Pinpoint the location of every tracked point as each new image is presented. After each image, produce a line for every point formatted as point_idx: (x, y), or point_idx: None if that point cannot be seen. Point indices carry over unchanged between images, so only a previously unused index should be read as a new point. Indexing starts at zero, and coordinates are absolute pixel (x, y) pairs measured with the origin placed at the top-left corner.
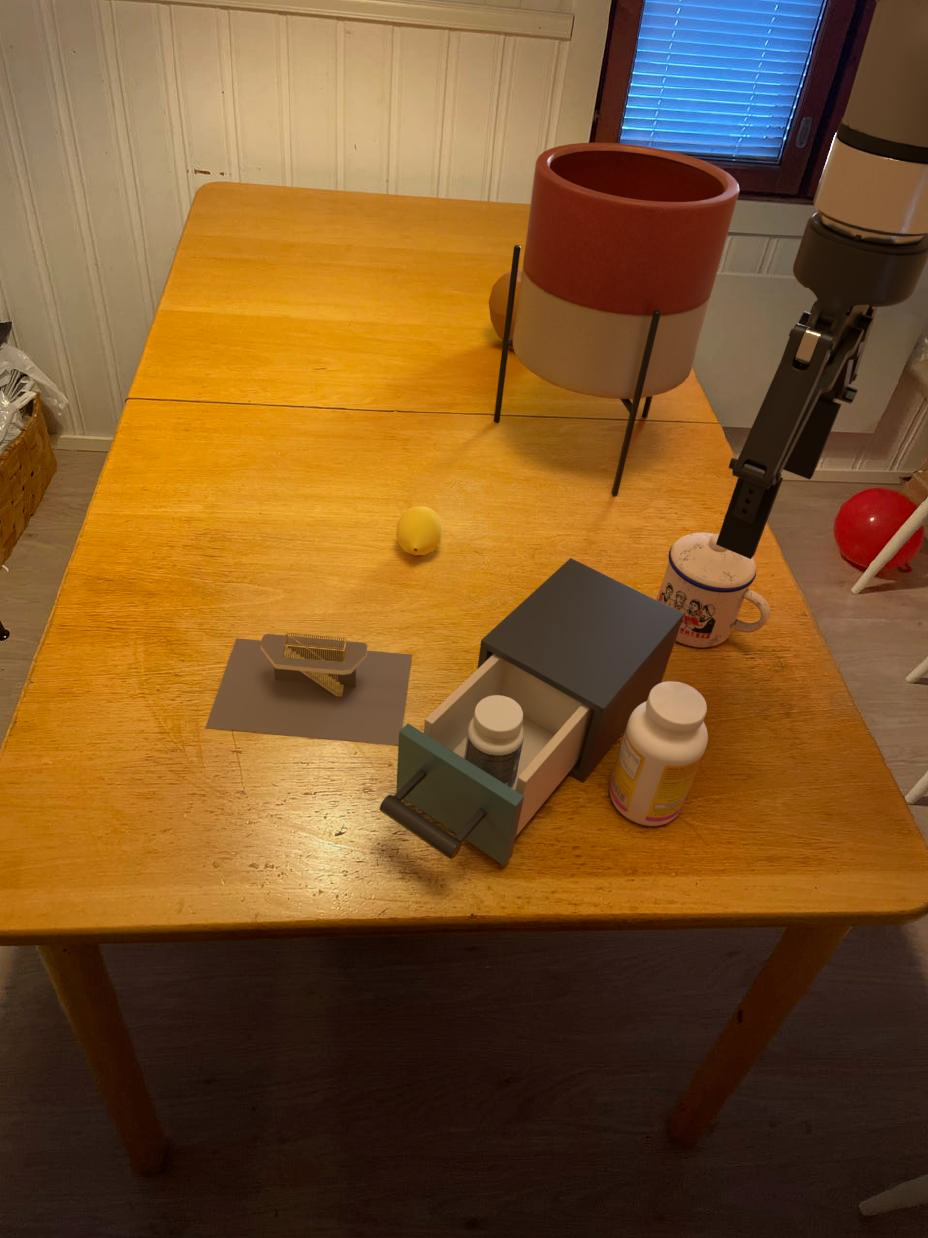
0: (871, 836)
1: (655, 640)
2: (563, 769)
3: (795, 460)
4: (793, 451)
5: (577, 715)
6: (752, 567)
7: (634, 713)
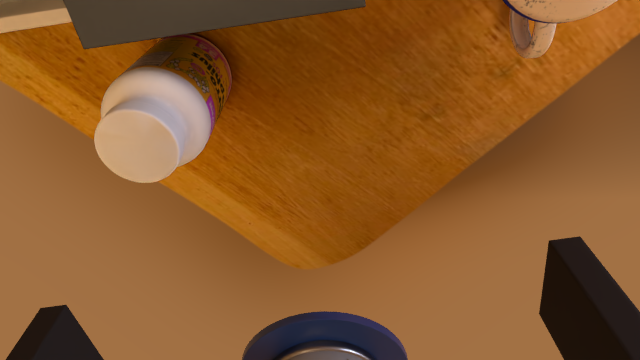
0: (335, 231)
1: (266, 13)
2: None
3: (564, 306)
4: (581, 317)
5: (59, 16)
6: (591, 10)
7: (124, 82)
